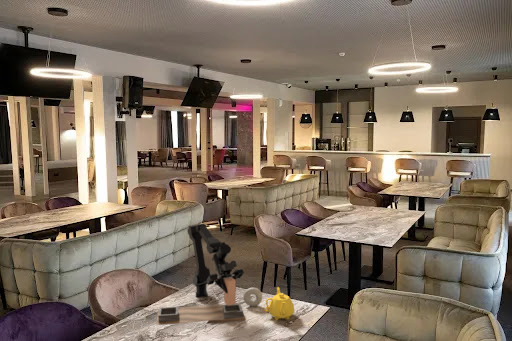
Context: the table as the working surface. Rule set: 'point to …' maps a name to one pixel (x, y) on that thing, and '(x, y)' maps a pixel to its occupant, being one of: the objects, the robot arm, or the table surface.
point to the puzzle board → (201, 314)
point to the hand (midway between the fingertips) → (231, 292)
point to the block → (230, 291)
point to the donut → (250, 301)
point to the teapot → (280, 306)
